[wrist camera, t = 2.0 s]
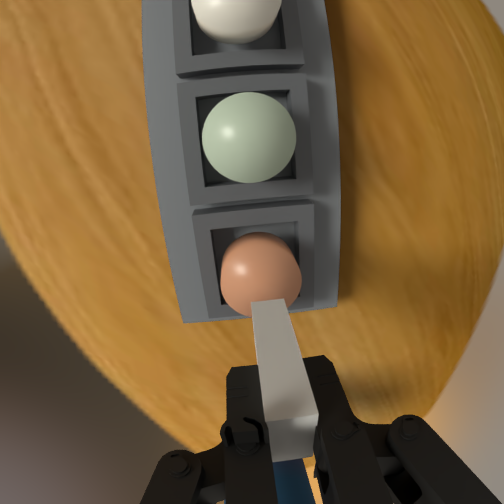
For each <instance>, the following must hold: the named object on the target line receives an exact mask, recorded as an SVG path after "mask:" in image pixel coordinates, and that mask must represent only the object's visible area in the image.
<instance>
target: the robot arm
mask: <svg viewBox="0 0 504 504" xmlns="http://www.w3.org/2000/svg"><path fill="white" fill-rule="evenodd" d="M251 309H252V319H253V329H254V338H255V348H256V357H257V365H251V366H240V367H232V368H231V370H230V372H229V373H228V375H227V377H226V388H227V390H226V397H227V399H226V403H227V420H226V421H225V423H224V424H223V425H222V427H221V430H220V435H221V438H222V442H221V443H220V444H219V445H217V446H216V447H214V448H212V449H209V450H207V451H203V452H200V453H196V454H194V453H192V452H189V451H187V450H174V451H171V452H168V453H167V454H165V455H164V456H162V458H161V459H160V461H159V462H158V464H157V466H156V469H155V471H154V473H153V475H152V478H151V480H150V482H149V485H148V487H147V489H146V491H145V493H144V496H143V498H142V500H141V502H140V504H216V503H217V502H219V501H223V500H226V504H278V498H277V491H276V484H275V477H274V470H273V463H272V462H279V461H286V460H293V459H300V458H306V457H311V456H313V451H314V455H315V459H316V464H315V469H314V478H317V480H318V484H319V488H320V493H321V497H322V501H323V504H393V503H394V504H502V503H501V502H500V501H499V500H498V499H497V498H496V497H495V496H494V494H493V493H492V492H491V491H490V490H489V489H488V488H487V487H486V486H485V485H484V484H483V482H481V480H480V479H479V478H478V477H477V476H476V475H475V474H474V473H473V472H472V471H471V470H470V469H469V468H468V466H467V465H466V464H465V463H464V462H463V461H462V460H461V459H460V458H459V457H458V456H457V455H456V453H455V452H454V451H453V450H452V449H451V448H450V447H449V446H448V445H447V444H446V443H445V442H444V441H443V440H442V439H441V438H440V436H439V435H438V434H437V433H436V432H435V431H434V430H433V429H432V428H431V427H430V426H429V425H428V424H427V423H426V422H425V421H424V420H423V419H422V418H420V417H419V416H415V415H403V416H400V417H398V418H397V419H395V420H394V421H393V422H392V424H368V423H365V422H362V421H361V420H359V419H358V418H357V417H356V416H355V415H354V414H353V412H352V411H351V408H350V406H349V403H348V400H347V398H346V395H345V393H344V390H343V388H342V385H341V383H340V380H339V378H338V375H337V374H336V371H335V368H334V366H333V363H332V362H331V361H330V360H329V359H328V358H326V357H325V356H324V355H320V356H314V357H308V358H302V356H301V353H300V349H299V346H298V343H297V339H296V336H295V333H294V330H293V326H292V323H291V320H290V317H289V313H288V310H287V307H286V304H285V300H284V298H283V299H275V300H266V301H256V302H251Z"/></svg>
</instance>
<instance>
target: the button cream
mask: <svg viewBox="0 0 504 504" xmlns="http://www.w3.org/2000/svg"><path fill="white" fill-rule="evenodd" d="M281 2H282V0H191V3H192V7H193V10H194V13H195V16H196V20H197V23H198V25H199V27H200V29H201V30H202V31H203V32H204V33H205V34H206V35H207V36H208V37H210V38H212V39H213V40H216V41H218V42H221V43H225V44H245V43H249V42H252V41H255V40H257V39H259V38H260V37H262V36H263V35H265V34H266V33H267V32H268V31H269V30H270V28H271V27H272V25H273V23H274V21H275V18H276V16H277V14H278V11H279V9H280V6H281Z"/></svg>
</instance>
